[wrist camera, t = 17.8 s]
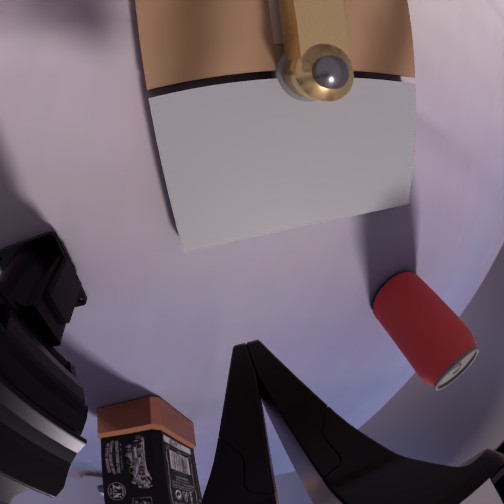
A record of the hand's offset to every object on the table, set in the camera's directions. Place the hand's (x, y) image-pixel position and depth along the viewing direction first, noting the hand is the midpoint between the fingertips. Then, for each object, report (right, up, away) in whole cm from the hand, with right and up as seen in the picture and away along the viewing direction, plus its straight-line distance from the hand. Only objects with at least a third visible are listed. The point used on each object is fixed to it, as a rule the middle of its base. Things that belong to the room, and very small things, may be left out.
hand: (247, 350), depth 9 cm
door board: (+2, +19, +3) cm, 19 cm away
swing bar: (+3, +17, +2) cm, 18 cm away
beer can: (+16, -1, +20) cm, 26 cm away
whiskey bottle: (-14, -18, +22) cm, 32 cm away
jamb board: (+3, +11, +9) cm, 14 cm away
